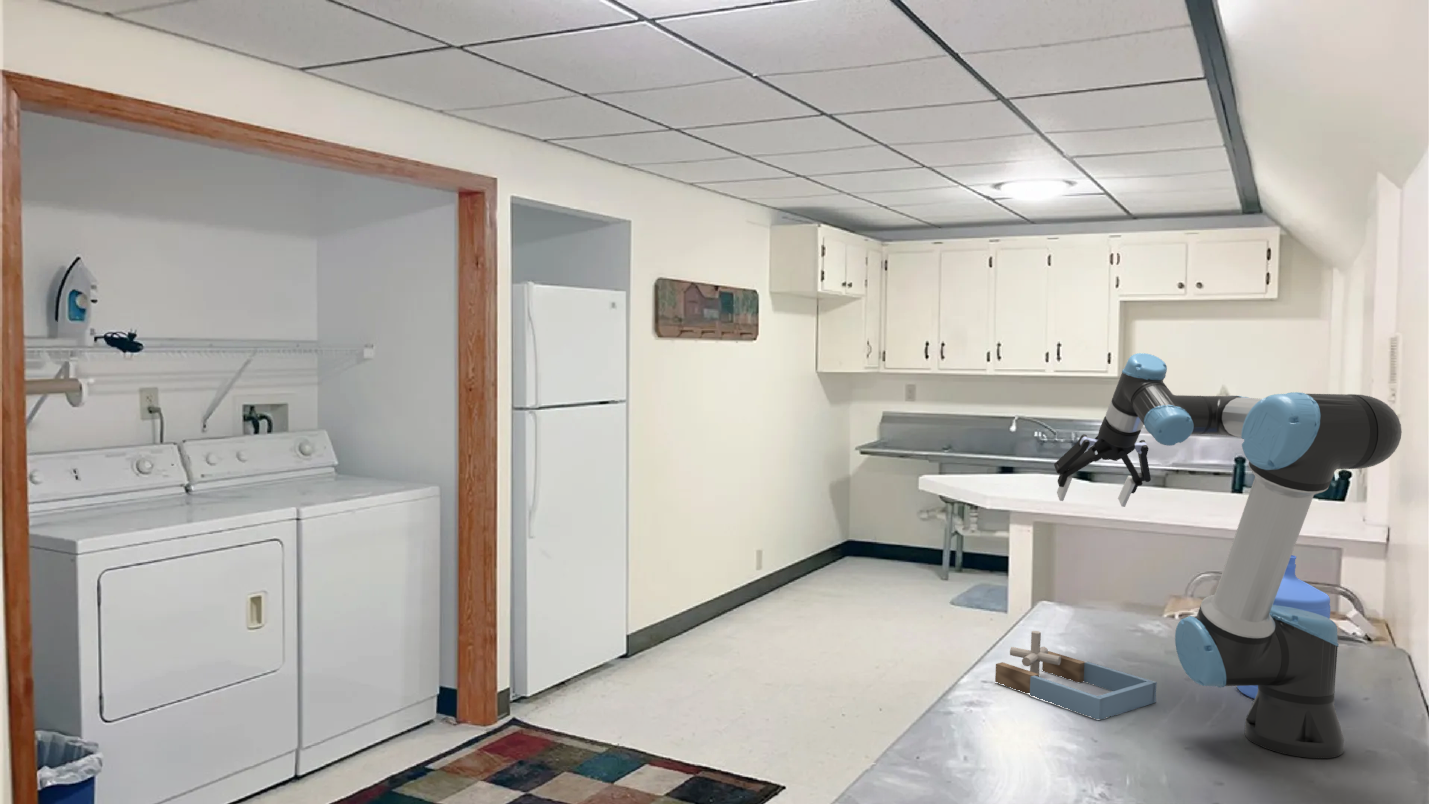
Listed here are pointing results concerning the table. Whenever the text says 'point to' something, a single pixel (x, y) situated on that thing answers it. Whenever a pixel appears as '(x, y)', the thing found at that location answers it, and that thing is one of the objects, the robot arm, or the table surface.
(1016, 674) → the slot rails
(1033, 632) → the pipe connector
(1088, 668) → the bin
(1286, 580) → the water jug
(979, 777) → the table surface
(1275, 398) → the robot arm
